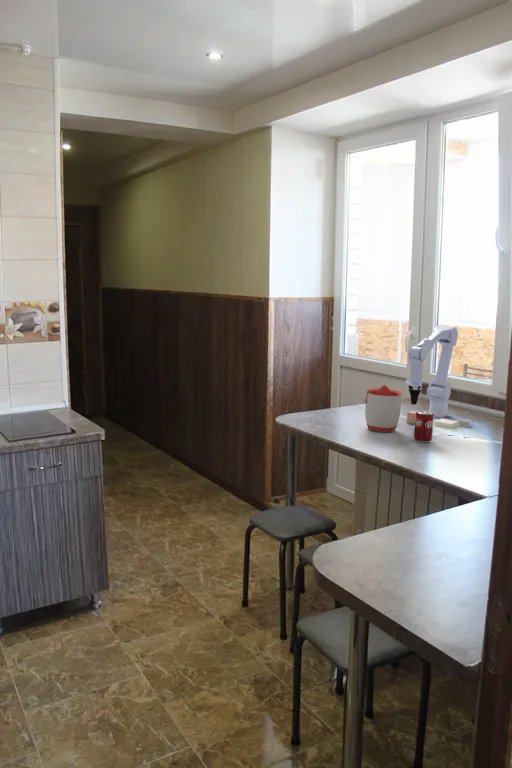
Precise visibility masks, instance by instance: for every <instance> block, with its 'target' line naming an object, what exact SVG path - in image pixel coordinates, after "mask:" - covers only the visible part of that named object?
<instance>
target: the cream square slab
mask: <svg viewBox="0 0 512 768" xmlns="http://www.w3.org/2000/svg"><path fill="white" fill-rule="evenodd" d="M435 420H436V421H435ZM435 420H433V421H434V425H435V426H440V427H445V428H454V427H456V426H458V424H459V422H460V420H459V421H458V420H453V419H447V418H444V417H441V418H439V419H435Z"/></svg>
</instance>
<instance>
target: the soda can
mask: <svg viewBox="0 0 512 768" xmlns="http://www.w3.org/2000/svg"><path fill="white" fill-rule="evenodd" d="M415 412H416V417H415V424H414V430H413V440H414V441H415V440H416V441H415V442H418V441H419V443H423V442H428V443H431V442H430V441H432V440H433V439H432V438H433V429H434V427H433V421H435V419H434V418H435V417H434V414H433V413H432V412H429V410H417V411H415Z"/></svg>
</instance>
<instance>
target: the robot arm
mask: <svg viewBox="0 0 512 768" xmlns="http://www.w3.org/2000/svg"><path fill="white" fill-rule="evenodd" d="M458 337H459V332H458V329H457V327H455V326H453V327H452V326H442V325H436V326H435V327H434V328H433V332H432V334H431V335H430V336H429V337H428V338H425V337H424V338H423V339H422V340H421V341H420V342H419V343H418V344H416V346H412V347H410V348H409V349H408V353H407V355H408V362H409V375H408V376H409V377H408V381H405V384H406V385H408V392H409V395H410V404H411V405H413V406H414V405H416V406H417V403H418V399H419V395H420V394H421V392H422V389H421V388H422V385H423V371H424V370H423V369H424V361H425V360H426V358H427V356H428V354H429V352H431V351H432V349H433V348H434V344H436V343H438V344H439V345H440V346H441V350H440V356H439V360H438V365H437V370H436V374H435V378H434V379H433V380H431V381H430V382H429V385H428V387H427V389H426V394H427V397H428V399H429V409H428V411H429V412H432V413H433V414H434V418H439V419H442V418H445V417H446V416H448V410H449V409H448V407H449V404H448V400H449V399H450V396H451V395H452V394H451V391H452V390H451V388H452V387H451V384H450V383H449V382H448V381H447V378H448V375H449V369H450V364H451V359H452V354H453V350H454V347H455V346H456V344H457V343H458Z"/></svg>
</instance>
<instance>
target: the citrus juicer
mask: <svg viewBox="0 0 512 768" xmlns="http://www.w3.org/2000/svg"><path fill="white" fill-rule="evenodd" d="M402 396H403V392H402V391H399V390H394V389H390V388H389V387H388V386H387V385H386V384H383V385H382V386H381V387H379V388H370V389H369V388H368V389H367V392H366V396H365V397H363V398H362V399H361V401H360V403H365V406H364V407H365V409H364V414H365V415H364V416H365V421H366V426H367V429H369V430H370V431H372V430H373V431H372V432H379V433H388V432H390V433H391V432H395V430H396V429H397V426H398V423H399V421H400V417H401V409H402V408H401V407H402Z"/></svg>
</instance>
